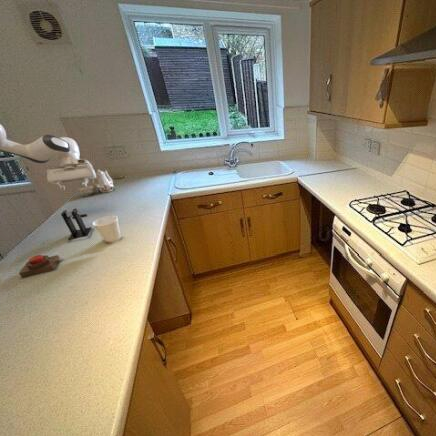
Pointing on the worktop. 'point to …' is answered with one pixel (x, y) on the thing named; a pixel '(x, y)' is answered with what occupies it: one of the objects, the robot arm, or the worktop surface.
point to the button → (36, 259)
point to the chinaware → (100, 184)
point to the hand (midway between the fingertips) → (74, 187)
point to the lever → (69, 214)
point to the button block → (40, 266)
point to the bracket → (73, 230)
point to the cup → (108, 228)
